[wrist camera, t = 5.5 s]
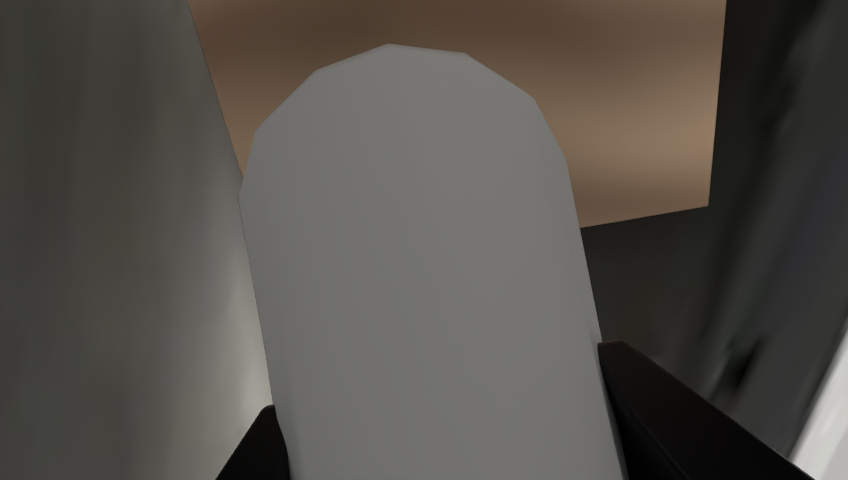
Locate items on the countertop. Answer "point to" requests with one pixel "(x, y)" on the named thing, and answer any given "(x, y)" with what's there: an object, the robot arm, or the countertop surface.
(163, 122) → the countertop surface
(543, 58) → the walnut board
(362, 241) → the salt shaker
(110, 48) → the countertop surface
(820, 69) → the countertop surface
